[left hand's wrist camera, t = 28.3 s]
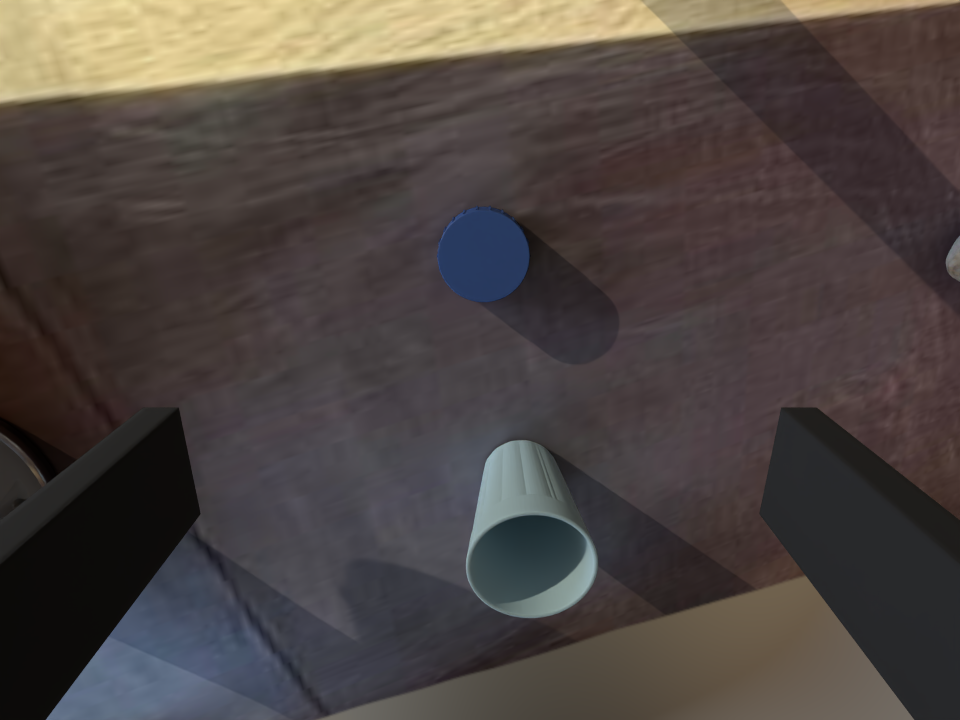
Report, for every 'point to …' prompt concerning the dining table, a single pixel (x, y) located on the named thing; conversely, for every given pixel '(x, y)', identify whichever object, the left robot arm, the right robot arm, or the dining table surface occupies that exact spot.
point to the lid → (483, 254)
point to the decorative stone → (954, 260)
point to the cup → (528, 536)
